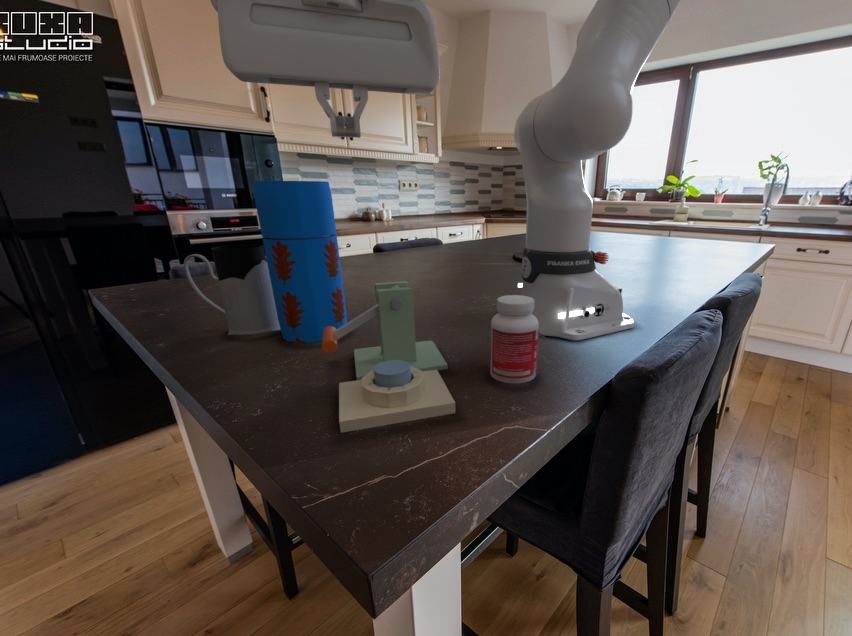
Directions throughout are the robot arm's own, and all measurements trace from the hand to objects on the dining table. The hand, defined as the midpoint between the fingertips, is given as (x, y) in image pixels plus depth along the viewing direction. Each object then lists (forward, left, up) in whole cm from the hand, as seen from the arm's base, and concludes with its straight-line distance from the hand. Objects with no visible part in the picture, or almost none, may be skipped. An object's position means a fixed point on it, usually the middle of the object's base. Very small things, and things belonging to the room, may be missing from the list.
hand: (346, 136), depth 42 cm
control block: (-2, +8, -29) cm, 30 cm away
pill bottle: (-18, +5, -29) cm, 35 cm away
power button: (-2, +8, -25) cm, 27 cm away
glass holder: (+21, -28, -29) cm, 46 cm away
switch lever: (0, -4, -22) cm, 23 cm away
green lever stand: (-4, -4, -29) cm, 30 cm away
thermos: (+8, -21, -29) cm, 37 cm away
